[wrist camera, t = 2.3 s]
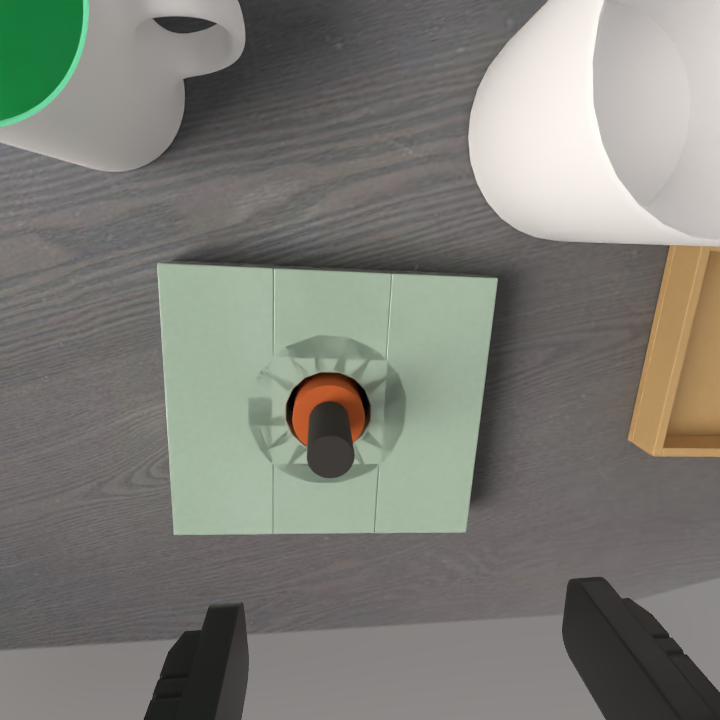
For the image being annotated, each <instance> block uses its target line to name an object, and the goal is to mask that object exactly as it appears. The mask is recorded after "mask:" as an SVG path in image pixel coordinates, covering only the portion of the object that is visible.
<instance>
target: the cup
mask: <svg viewBox="0 0 720 720" xmlns="http://www.w3.org/2000/svg"><path fill="white" fill-rule="evenodd" d="M468 141H469V152H470V162H471V165H472V168H473V172H474V175H475V178H476V182H477V184H478V186H479V188H480V190H481V192H482V194H483V195H484V197H485V199H486V201H487V203H488V204H489V205H490V206H491V207H492V208H493V210H494V211H495V212H496V213H497V214H498V215H499V216H500V218H501V219H503V220H504V221H506V222H507V223H508V224H510V225H511V226H513V227H514V228H515V229H517V230H519V231H521V232H524V233H526V234H528V235H531V236H533V237H536V238H542V239H548V240H555V241H567V242H596V243H625V244H654V245H683V246H712V247H720V0H548V1H547V2H546V3H545V5H544V6H543V7H542V8H541V9H540V10H539V11H538V12H537V13H536V14H535V15H534V16H533V17H532V18H531V19H530V20H529V21H528V22H527V23H526V24H525V25H524V26H523V27H522V28H521V29H520V30H519V31H518V32H517V33H516V34H515V35H514V36H513V37H512V38H511V39H510V40H509V41H508V42H507V44H506V45H505V46H504V47H503V49H502V50H501V51H500V52H499V54H498V55H497V56H496V58H495V59H494V60H493V62H492V63H491V64H490V66H489V67H488V69H487V71H486V73H485V75H484V77H483V79H482V81H481V83H480V85H479V87H478V89H477V93H476V96H475V100H474V103H473V107H472V110H471V114H470V124H469V135H468Z"/></svg>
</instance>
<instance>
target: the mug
mask: <svg viewBox="0 0 720 720" xmlns="http://www.w3.org/2000/svg"><path fill="white" fill-rule="evenodd" d="M168 16H185V17H195V18H201V19H205V20H209V21H212V22H215V23H217V24H216V25H214V26H212V27H210V28H208V29H205V30H202V31H198V32H193V33H185V34H182V33H174V32H171V31H168V30H166V29H164V28H163V27H161V26H160V25H159V24H157V23H156V22H155V21H154V20H153V19H152V18H157V17H168ZM244 45H245V26H244V20H243V15H242V11H241V8H240V5H239V2H238V0H0V142H1V143H4V144H8V145H11V146H15V147H18V148H22V149H25V150H29V151H32V152H36V153H39V154H43V155H46V156H50V157H53V158H57V159H60V160H64V161H67V162H71V163H74V164H78V165H81V166H85V167H88V168H92V169H95V170H100V171H107V172H123V171H129V170H134V169H137V168H140V167H142V166H145V165H147V164H149V163H150V162H152V161H154V160H155V159H156V158H158V157H159V156H160V155H161V154H162V153H163V152H164V151H165V150H166V149H167V148H168V147H169V146H170V144H171V143H172V141H173V140H174V138H175V136H176V134H177V132H178V130H179V128H180V125H181V122H182V118H183V113H184V106H185V88H184V81H183V79H185V78H188V77H193V76H199V75H205V74H209V73H213V72H216V71H219V70H221V69H224V68H226V67H228V66H230V65H231V64H233V63H234V62H235V61H236V60H237V59H238V58H239V57H240V56H241V54H242V52H243V49H244Z"/></svg>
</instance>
